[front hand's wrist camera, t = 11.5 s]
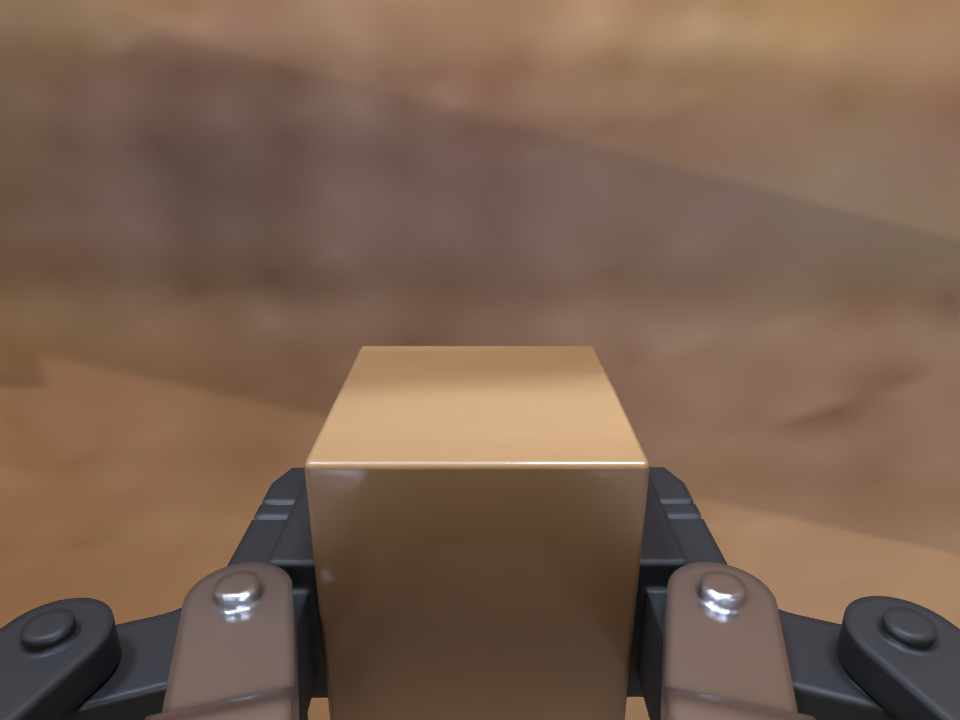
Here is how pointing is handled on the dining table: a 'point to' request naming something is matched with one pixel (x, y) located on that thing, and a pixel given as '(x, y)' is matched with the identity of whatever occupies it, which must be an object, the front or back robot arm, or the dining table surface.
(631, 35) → the dining table surface
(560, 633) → the block
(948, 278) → the dining table surface
